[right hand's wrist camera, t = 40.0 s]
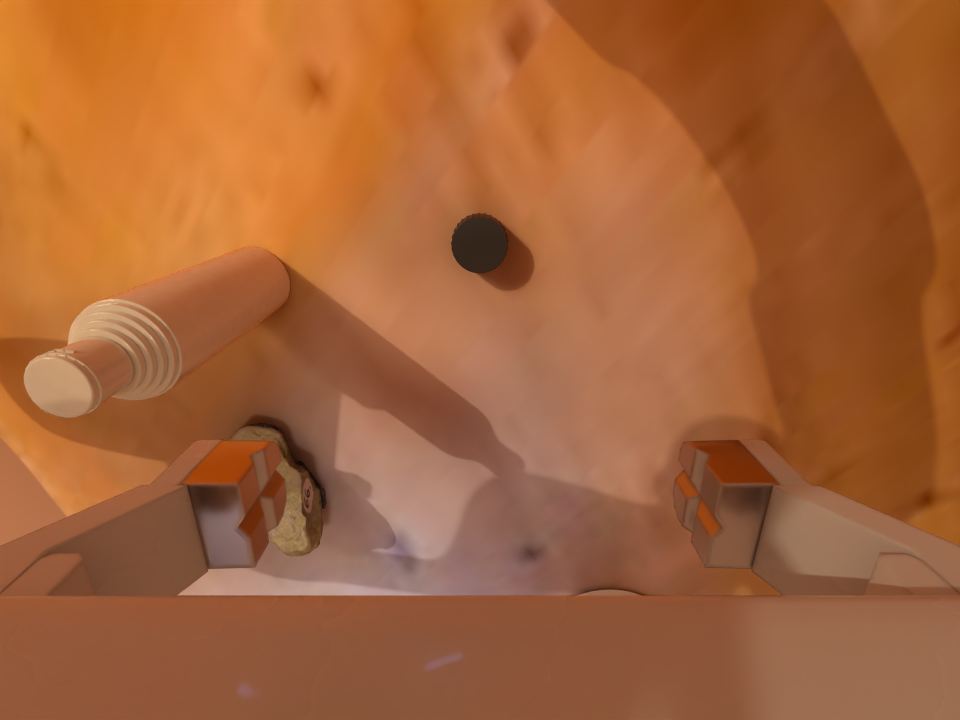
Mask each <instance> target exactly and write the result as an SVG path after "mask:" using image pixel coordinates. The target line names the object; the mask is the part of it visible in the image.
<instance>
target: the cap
mask: <svg viewBox="0 0 960 720" xmlns="http://www.w3.org/2000/svg"><path fill="white" fill-rule="evenodd" d="M507 243H508V240H507V235H506V233H505V230H504V227H502V226H501V223H500V222H498V221H497V220H496V218H493V217H491V215H490V216H489V215H486V214H485V213H484V214H479V213H478V214H472V215H470V216H467V217H466V218H465V219H462V221H461V222H460V223H458V225H457V227H456V228H455V230H454V234H453V236H452V242H451V244H452V251H453V255H454V257H455V259H456V261H457V262H458V263H459V264H460V265H461V266H462V267H463V268H464V269H466V270H468V271H471V272H474V273H485V272H489V271H491V270H493V269H495V268H496V267H497V266H499V265H500V263H501V262H502V261H503V260H504V257H505V255H506V252H507V249H508V247H507Z"/></svg>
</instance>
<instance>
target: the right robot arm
mask: <svg viewBox="0 0 960 720" xmlns="http://www.w3.org/2000/svg"><path fill="white" fill-rule="evenodd" d="M281 461H282V458H281V454H280V449H279V445H278V444H277V443H276V442H275V441H259V440H223V439H218V440H198V441H194V442H193V443H192V444H191V445H190V446H189V447H188V448H187V449H186V450H185V451H184V452H183V453H182V454H181V455H180V456H179V457H178V458H177V459H176V460H175V461H174V462H173V463H172V464H171V465H170V466H169V467H168V468H167V469H166V470H165V471H164V472H163V473H162V474H161V475H160V476H159V477H158V478H156V479H155V480H154V481H153V482H152V483H151V484H150V485H141V486H138V487H136V488H134V489H131V490H129V491H127V492H124V493H122V494H120V495H117V496H115V497H113V498H110V499H108V500H106V501H103V502H101V503H99V504H96V505H94V506H92V507H89V508H87V509H85V510H83V511H80V512H78V513H76V514H73V515H71V516H69V517H66V518H64V519H62V520H59V521H57V522H55V523H52V524H50V525H48V526H45V527H43V528H41V529H38V530H36V531H34V532H31V533H29V534H27V535H24V536H22V537H20V538H17V539H15V540H13V541H10V542H8V543H6V544H3V545H1V546H0V720H960V546H958V545H956V544H954V543H952V542H949V541H947V540H945V539H942V538H940V537H938V536H935V535H933V534H931V533H928V532H926V531H924V530H921V529H919V528H917V527H914V526H912V525H910V524H907V523H905V522H903V521H901V520H898V519H896V518H894V517H891V516H889V515H887V514H884V513H882V512H880V511H877V510H875V509H873V508H870V507H868V506H866V505H863V504H861V503H859V502H856V501H854V500H852V499H850V498H847V497H845V496H843V495H840V494H838V493H836V492H833V491H831V490H829V489H826V488H824V487H822V486H819V485H810V484H809V483H808V482H807V481H806V480H805V479H804V478H803V477H802V476H800V475H799V474H798V473H797V472H796V471H795V470H794V469H793V468H792V467H791V466H790V465H789V464H788V463H787V462H786V461H785V460H784V459H783V458H782V457H781V456H780V455H779V454H778V453H777V452H776V451H775V450H774V449H773V448H772V447H771V446H770V445H769V444H768V443H767V442H766V441H763V440H760V439H753V440H718V441H687V442H683V444H682V446H681V448H680V453H679V458H678V461H679V462H680V464H681V465H682V467H683V468H684V470H683V471H682V472H681V473H680V474H679V475H678V476H677V478H676V479H675V483H674V491H673V498H674V508H675V511H676V514H677V517H678V519H679V521H680V523H681V525H682V526H683V527H685V528H686V529H688V530H689V531H691V532H692V539H691V543H692V545H693V547H694V548H695V550H696V552H697V554H698V555H699V557H700V559H701V561H702V563H703V564H704V566H705V568H739V569H752V572H754V573H755V574H756V575H758V576H759V577H760V578H761V579H763V580H764V581H765V582H767V583H768V584H769V585H771V586H772V587H773V588H774V589H776V590H777V591H778V592H780V593H781V594H782V595H784V596H642V595H639V594H636V593H633V592H629V591H623V590H597V591H591V592H587V593H583V594H580V595H577V596H177V595H178V594H179V593H181V592H182V591H183V590H184V589H186V588H187V587H188V586H190V585H191V584H192V583H194V582H195V581H196V580H197V579H199V578H200V577H201V576H203V575H204V574H205V573H206V572H208V569H221V568H255V566H256V564H257V563H258V561H259V559H260V557H261V556H262V554H263V552H264V550H265V548H266V547H267V545H268V543H269V539H268V532H269V531H271V530H272V529H274V528H275V527H277V526H278V525H279V523H280V521H281V519H282V517H283V515H284V510H285V506H286V502H287V489H286V482H285V479H284V478H283V476H282V475H281V474H280V473H279V472H278V471H277V470H276V468H277V467H278V465H279V464H280V462H281Z"/></svg>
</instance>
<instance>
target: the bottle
mask: <svg viewBox="0 0 960 720" xmlns="http://www.w3.org/2000/svg"><path fill="white" fill-rule="evenodd" d="M289 292H290V279H289V275H288V273H287V270H286V268H285V267H284V265H283V264H282V263H281V261H280V260H279V259H278V258H277V257H276V256H274V255H273V254H272V253H270V252H268V251H266V250H264V249H260V248H256V247H245V248H241V249H238V250H235V251H232V252H230V253H227V254H224V255H222V256H219V257H216V258H213V259H211V260H208V261H205V262H203V263H200V264H197V265H195V266H192V267H189V268H187V269H184V270H181V271H178V272H176V273H173V274H170V275H168V276H165V277H162V278H160V279H157V280H154V281H151V282H149V283H146V284H143V285H141V286H138V287H135V288H133V289H130V290H127V291H124V292H122V293H119V294H116V295H114V296H111V297H108V298H106V299H103V300H100V301H98V302H95V303H93V304H91V305H89V306H88V307H86V308H85V309H84V310H83V311H82V312H81V313H80V314H79V315H78V316H77V318H76V319H75V320H74V322H73V323H72V325H71V328H70V331H69V336H68V345H67V346H65V347H62V348H60V349H54V350H51V351H48V352H46V353H44V354H42V355H39V356H37V357H35V358H34V359H33V360H31V361H30V362H29V364H28V366H27V367H26V369H25V373H24V385H25V389H26V391H27V393H28V395H29V396H30V398H31V399H32V400H33V402H34V403H35V404H36V405H37V406H39V407H40V409H42V410H43V411H45V412H47V413H48V414H49V413H50V414H52V415H55V416H58V417H63V418H74V417H79V416H82V415H85V414H88V413H91V412H92V411H94V410H95V409H97V408H98V406H99V405H100V404H101V403H103V402H104V401H106V400H107V399H109V398H110V397H115V398H120V399H125V400H144V399H149V398H153V397H157V396H159V395H162V394H164V393H165V392H167V391H168V390H170V389H171V388H172V387H174V386H175V385H177V384H178V383H179V382H181V381H182V380H183V379H185V378H186V377H187V376H189V375H190V374H191V373H193V372H194V371H195V370H197V369H198V368H199V367H201V366H202V365H204V364H205V363H206V362H208V361H209V360H210V359H212V358H213V357H214V356H216V355H217V354H218V353H220V352H221V351H222V350H224V349H225V348H226V347H228V346H229V345H231V344H232V343H233V342H235V341H236V340H237V339H239V338H240V337H241V336H243V335H244V334H245V333H247V332H248V331H249V330H251V329H252V328H253V327H255V326H256V325H258V324H259V323H260V322H262V321H263V320H264V319H266V318H267V317H268V316H270V315H271V314H272V313H274V312H275V311H276V310H278V309H279V308H280V307H282V305H283V304H284V303H285V302H286V300H287V298H288V296H289Z"/></svg>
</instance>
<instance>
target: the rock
mask: <svg viewBox="0 0 960 720" xmlns="http://www.w3.org/2000/svg"><path fill="white" fill-rule="evenodd" d="M230 440H259V441H275V442H276V443H277V444H278V445H279V449H280V454H281V458H282V461H281V462H280V464H279V465H278V467H277V468H276V470H277V471H278V472H279V473H280V474H281V475H282V476H283V478H284V479H285V482H286V489H287V502H286V506H285V510H284V515H283V517H282V519H281V521H280V523H279V525H278V526H277V527H275V528H274V529H272V530H271V531H269V536H270V538H271V541H272V542H273V543H274V544H275V545H276V546H277V547H278V548H279V549H281V550H282V551H283V552H284V553H285V554H286V555H289V556H300V555H306V554H308V553H310V552H311V551H312V550H313V549H315V548H317V547H318V546H319V544H320V539H321V536H322V529H323V521H322V508H325V505H326V501H325V492H324V489H321V485H319V483H318V482H317V481H316V480H315V479H314V477H313V476H312V473H310V472H309V470H308V469H307V468H306V466H305V464H304V463H303V462H302V461H301V462H300V461H299V464H296V463H295V461H294V460H293V458H292V457H291V454H290V450H289V447H288V445H287V441H286V439H285V438H284V434H283V433H282V432H281V429H280V428H277V427H276V426H273V425H270V424H264V423H259V424H252V425H249V426H244V427H242V428H240V429H239V430H238V431H237V432H236V433H235V434H234V435H233V436H232V437H231V438H230Z"/></svg>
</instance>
